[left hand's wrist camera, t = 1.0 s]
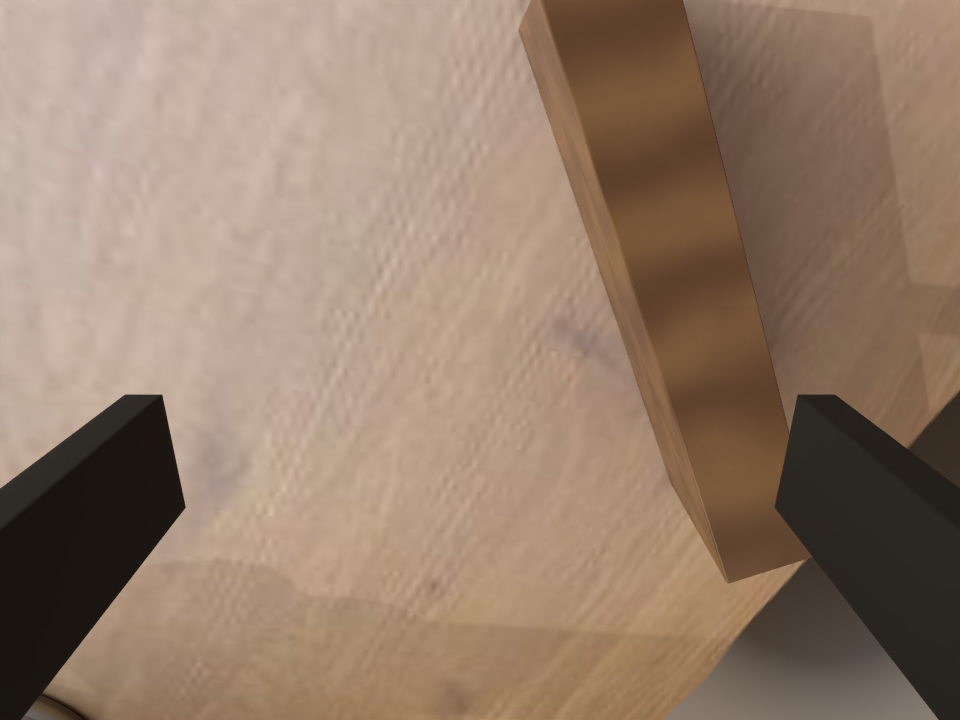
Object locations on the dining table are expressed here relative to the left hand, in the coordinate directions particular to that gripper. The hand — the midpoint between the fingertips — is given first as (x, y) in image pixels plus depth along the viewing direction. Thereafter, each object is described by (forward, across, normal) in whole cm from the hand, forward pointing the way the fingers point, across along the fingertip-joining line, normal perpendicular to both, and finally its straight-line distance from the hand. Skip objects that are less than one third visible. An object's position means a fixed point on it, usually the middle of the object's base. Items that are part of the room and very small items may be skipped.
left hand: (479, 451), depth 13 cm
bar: (+21, -9, +1) cm, 22 cm away
